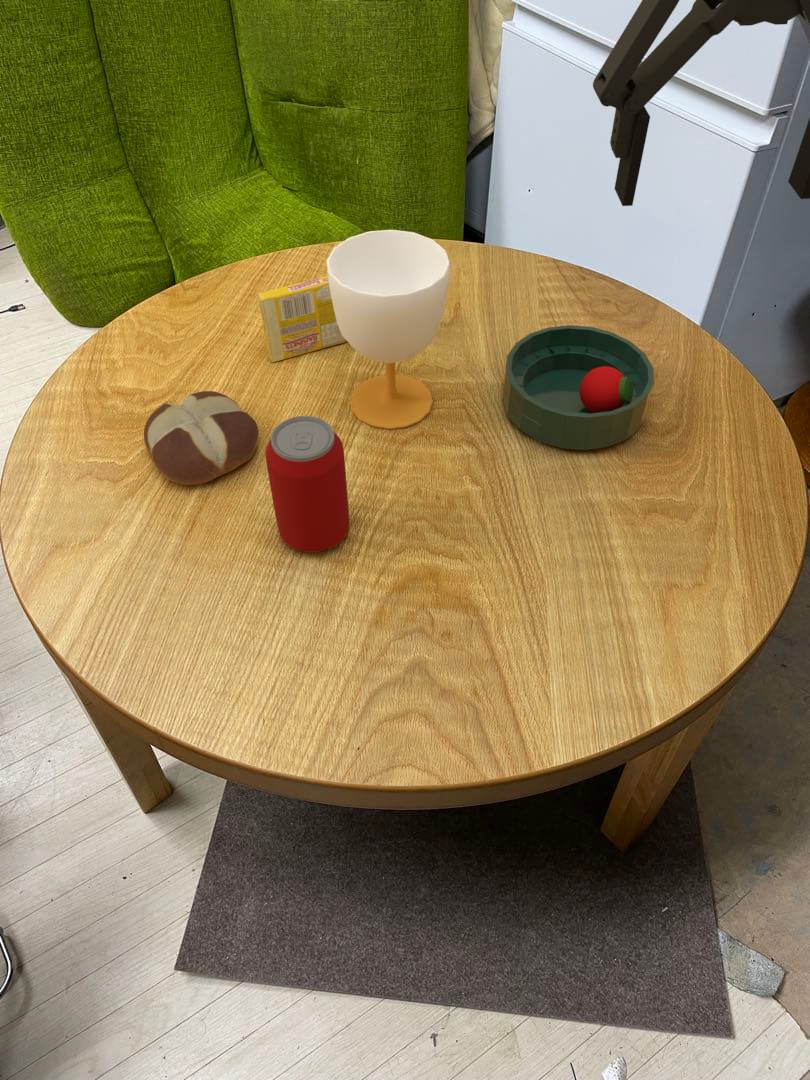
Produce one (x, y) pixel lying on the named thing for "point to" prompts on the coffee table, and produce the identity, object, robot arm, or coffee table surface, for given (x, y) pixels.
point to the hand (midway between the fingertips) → (711, 194)
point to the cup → (389, 316)
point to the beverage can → (308, 483)
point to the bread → (200, 437)
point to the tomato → (605, 389)
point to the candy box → (299, 319)
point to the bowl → (573, 386)
